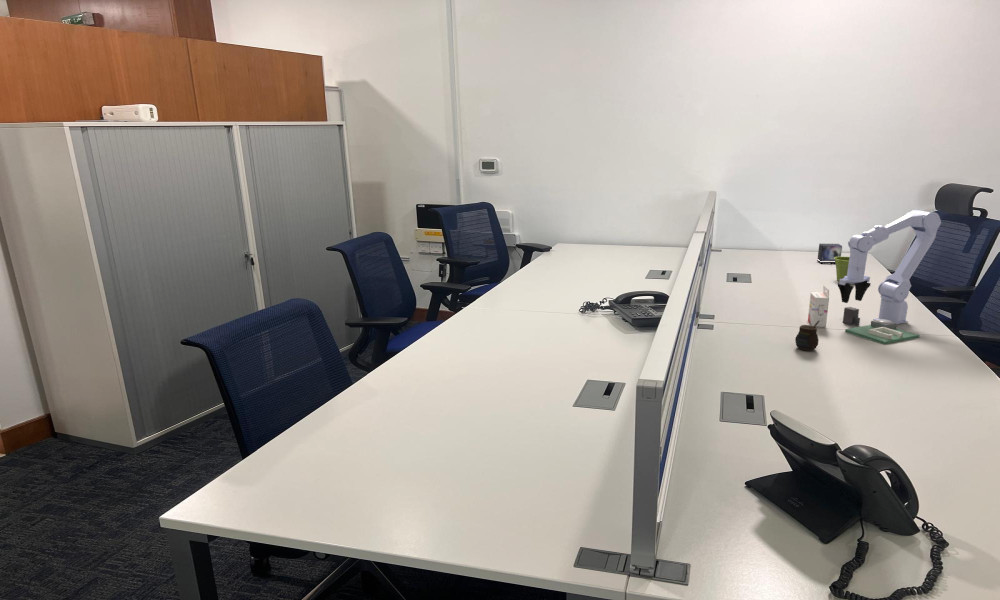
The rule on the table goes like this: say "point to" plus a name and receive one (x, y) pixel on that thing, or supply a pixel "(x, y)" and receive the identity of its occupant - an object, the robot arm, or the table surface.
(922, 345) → the table surface
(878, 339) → the board
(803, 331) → the mate gourd
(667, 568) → the table surface
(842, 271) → the plant pot
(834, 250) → the small box
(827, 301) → the ink cartridge box
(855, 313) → the plug
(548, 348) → the table surface
